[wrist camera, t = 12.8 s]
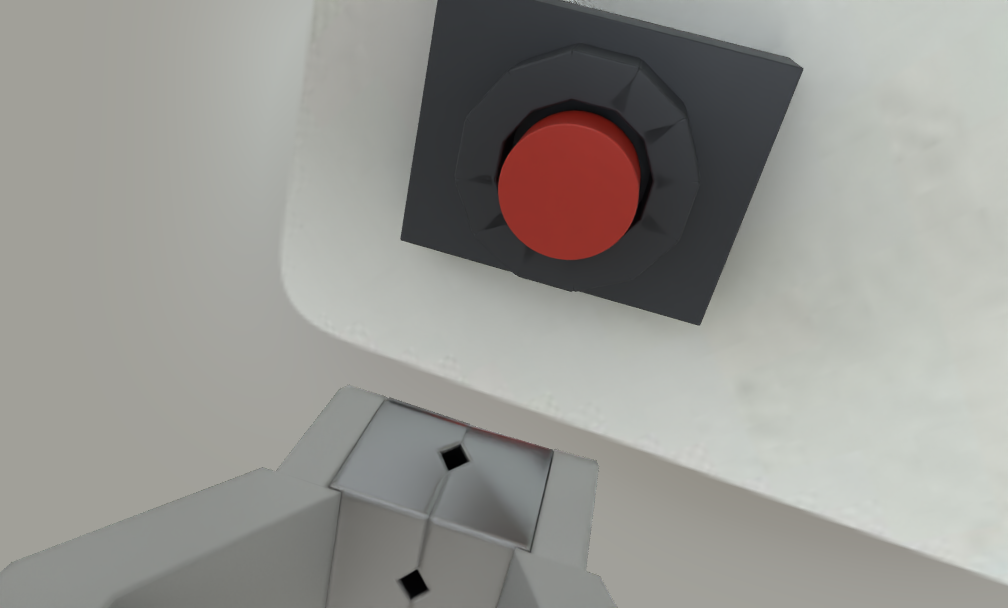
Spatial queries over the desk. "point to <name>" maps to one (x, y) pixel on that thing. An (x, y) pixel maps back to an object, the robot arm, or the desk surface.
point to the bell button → (570, 185)
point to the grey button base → (617, 97)
